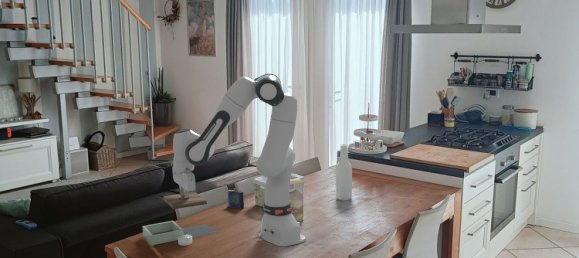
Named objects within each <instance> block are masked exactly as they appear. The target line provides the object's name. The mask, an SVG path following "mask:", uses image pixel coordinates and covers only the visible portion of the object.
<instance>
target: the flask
mask: <svg viewBox="0 0 579 258" xmlns="http://www.w3.org/2000/svg"><path fill="white" fill-rule="evenodd" d="M244 201H245V200H244V191H243V190H241V189H240V190H239V189H238V186H237V187H234V188H233V189H228V190H227V207H228V208H232V209H240V210H243V209H245V203H244Z"/></svg>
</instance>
